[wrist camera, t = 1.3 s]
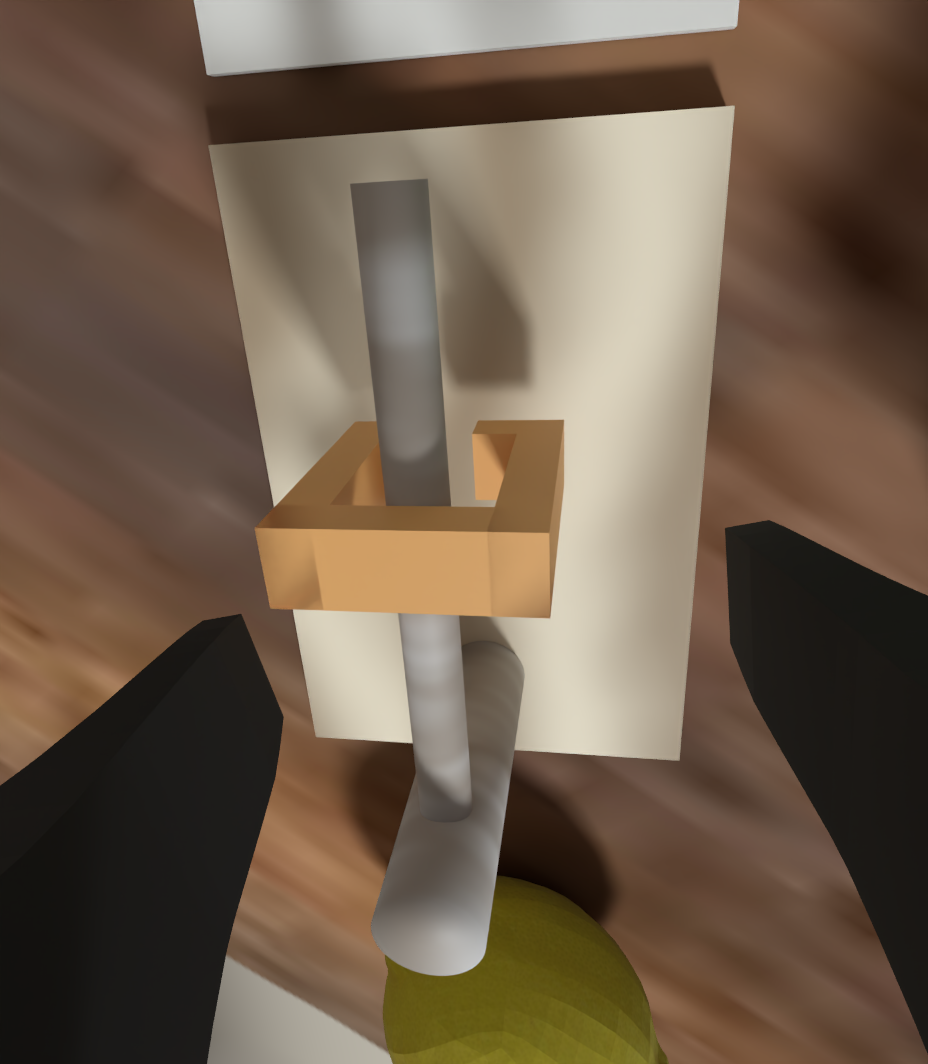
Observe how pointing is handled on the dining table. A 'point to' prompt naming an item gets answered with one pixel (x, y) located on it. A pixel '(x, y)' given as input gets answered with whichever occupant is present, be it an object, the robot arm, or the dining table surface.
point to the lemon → (526, 994)
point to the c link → (421, 532)
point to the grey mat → (427, 28)
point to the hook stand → (493, 394)
